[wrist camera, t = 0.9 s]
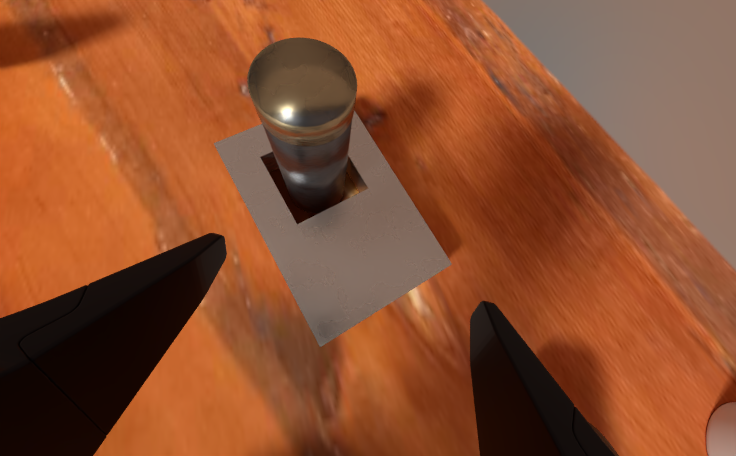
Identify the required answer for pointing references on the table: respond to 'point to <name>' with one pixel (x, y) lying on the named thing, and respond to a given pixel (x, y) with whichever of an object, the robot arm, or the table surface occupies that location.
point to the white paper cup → (722, 431)
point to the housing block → (338, 234)
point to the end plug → (306, 116)
